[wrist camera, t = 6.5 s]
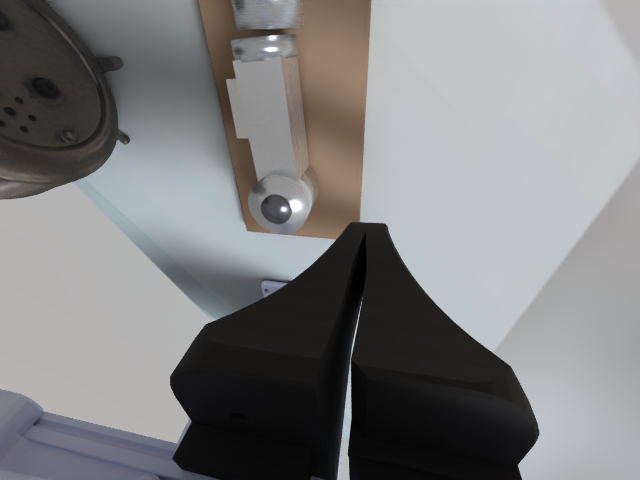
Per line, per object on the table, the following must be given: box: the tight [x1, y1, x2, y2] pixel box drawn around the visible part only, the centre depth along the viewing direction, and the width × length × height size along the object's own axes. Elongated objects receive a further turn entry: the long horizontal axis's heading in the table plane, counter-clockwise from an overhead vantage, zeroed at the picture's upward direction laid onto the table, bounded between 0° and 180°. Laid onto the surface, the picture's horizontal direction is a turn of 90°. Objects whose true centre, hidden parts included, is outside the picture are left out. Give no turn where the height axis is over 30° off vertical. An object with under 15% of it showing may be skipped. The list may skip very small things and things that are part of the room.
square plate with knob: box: [226, 0, 304, 139], centre depth 13 cm, size 9×6×5 cm, turn 2°
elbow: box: [230, 34, 320, 234], centre depth 16 cm, size 10×4×4 cm, turn 5°
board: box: [198, 0, 371, 239], centre depth 18 cm, size 17×9×1 cm, turn 2°
